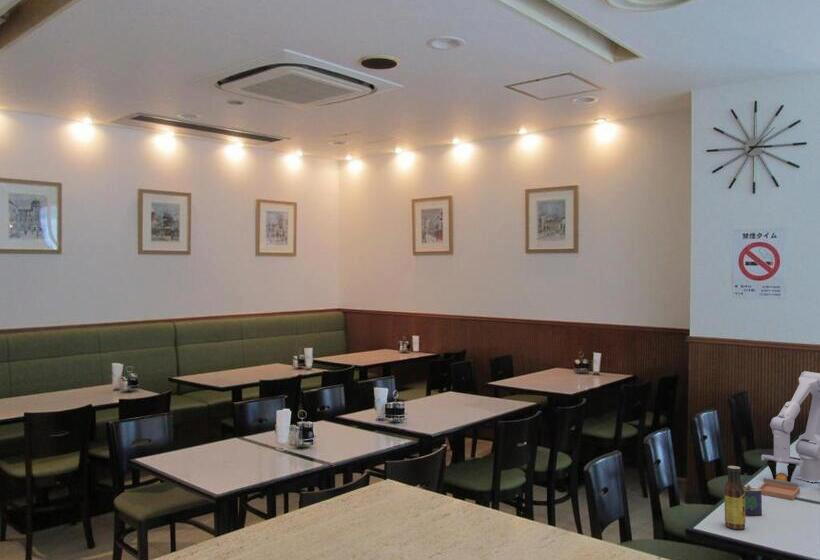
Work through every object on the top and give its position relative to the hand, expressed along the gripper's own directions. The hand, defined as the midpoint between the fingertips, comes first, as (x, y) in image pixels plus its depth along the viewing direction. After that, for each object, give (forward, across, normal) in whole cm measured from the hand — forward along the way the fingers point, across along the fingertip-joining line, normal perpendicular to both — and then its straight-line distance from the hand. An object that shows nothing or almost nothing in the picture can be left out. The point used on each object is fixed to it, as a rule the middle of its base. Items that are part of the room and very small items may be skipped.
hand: (781, 480), depth 268 cm
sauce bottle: (+2, -1, -61) cm, 61 cm away
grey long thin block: (+1, +1, -6) cm, 6 cm away
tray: (+1, +2, -13) cm, 13 cm away
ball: (-1, 0, 0) cm, 1 cm away
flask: (+2, -1, -46) cm, 46 cm away
